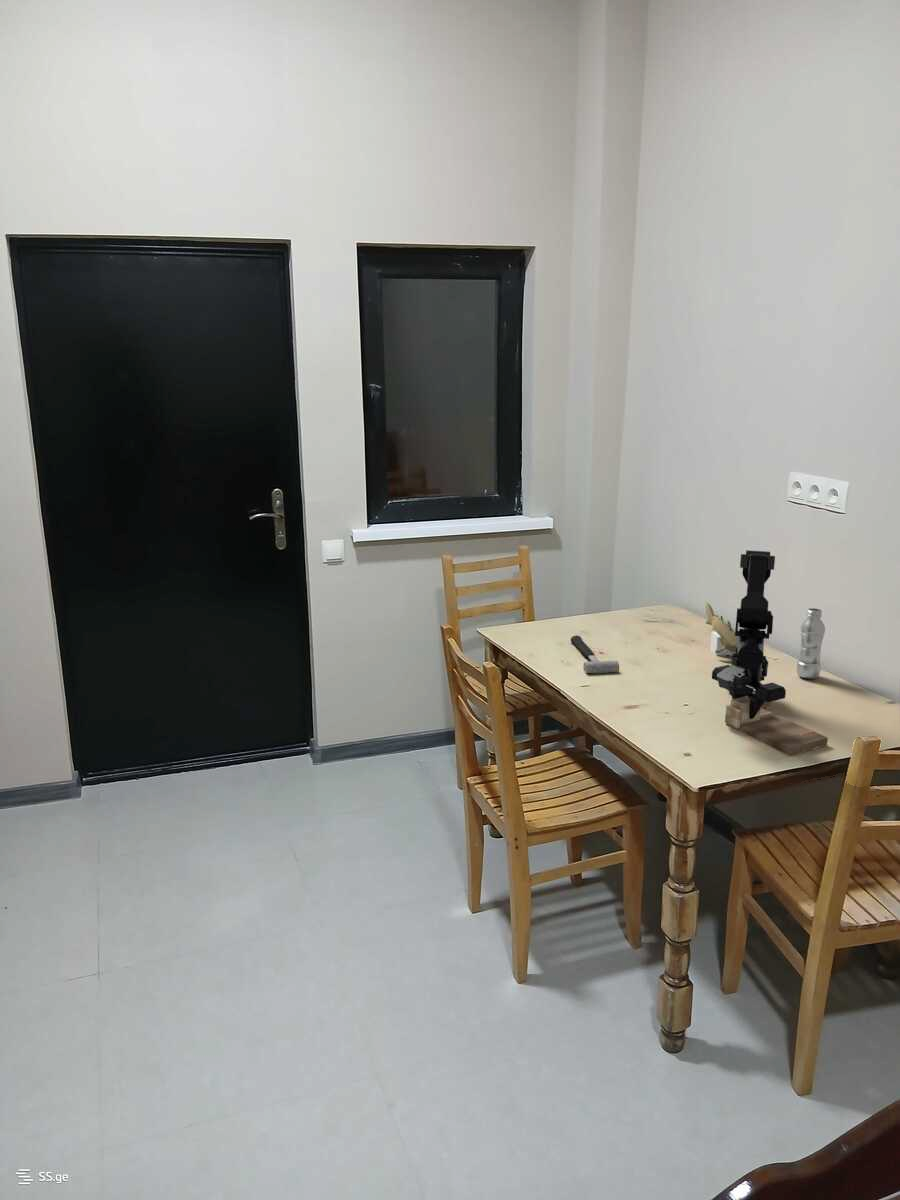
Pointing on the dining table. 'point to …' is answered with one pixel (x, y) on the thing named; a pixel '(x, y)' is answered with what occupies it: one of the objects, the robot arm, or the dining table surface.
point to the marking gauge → (741, 712)
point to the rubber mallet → (594, 659)
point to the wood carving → (721, 634)
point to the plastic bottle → (811, 645)
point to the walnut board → (782, 734)
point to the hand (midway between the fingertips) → (744, 715)
